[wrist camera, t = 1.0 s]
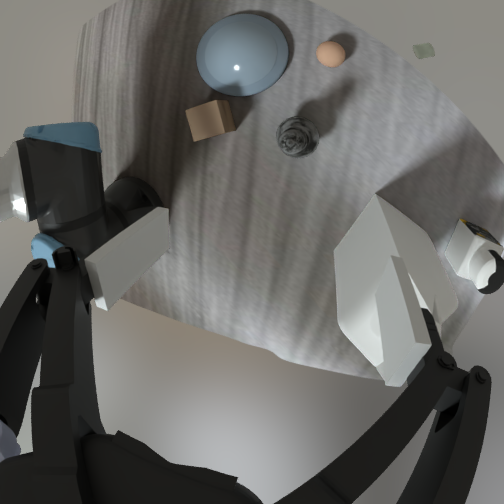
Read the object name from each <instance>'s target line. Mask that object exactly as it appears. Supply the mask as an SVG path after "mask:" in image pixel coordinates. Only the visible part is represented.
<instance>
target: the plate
mask: <svg viewBox="0 0 504 504" xmlns="http://www.w3.org/2000/svg"><path fill="white" fill-rule="evenodd" d="M288 58H289V48H288V44H287V41H286V38H285V36H284V35H283V33H282V32H281V30H280V29H279V28H278V27H277V26H276V25H275V24H274V23H273V22H271V21H270V20H268V19H266V18H264V17H262V16H258V15H254V14H237V15H232V16H229V17H226V18H224V19H221V20H220V21H218V22H216V23H215V24H214V25H212V26H211V27H210V28H209V29H208V30H207V31H206V33H205V34H204V35H203V37H202V39H201V41H200V43H199V45H198V49H197V55H196V61H197V67H198V70H199V73H200V75H201V76H202V78H203V79H204V81H205V82H206V83H207V84H208V85H209V86H210V87H212V88H213V89H215V90H216V91H218V92H221V93H223V94H227V95H232V96H250V95H254V94H257V93H260V92H262V91H264V90H266V89H268V88H269V87H271V86H272V85H273V84H275V83H276V82H277V81H278V79H279V78H280V77H281V76H282V74H283V73H284V71H285V69H286V66H287V63H288Z"/></svg>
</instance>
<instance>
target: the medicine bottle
mask: <svg viewBox="0 0 504 504" xmlns="http://www.w3.org/2000/svg"><path fill="white" fill-rule="evenodd" d="M503 250H504V248H503V247H502V246H501V245H500V243H499V242H498V241H497V240H496V239H495V238H494V237H493V236H492V235H491V234H490V233H489V232H488V231H487V230H485V229H483V228H481V227H479V226H477V225H474V224H472V223H470V222H468V221H465V220H463V219H459V221H458V223H457V225H456V228H455V230H454V233H453V235H452V237H451V240H450V242H449V244H448V246H447V248H446V251H445V253H444V254H445V256H446V258H447V259H448V261H449V263H450V264H451V266H452V267H453V269H454V271H455V273H456V274H457V275H458V276H460V277H463V278H466V279H469V280H472V281H473V282H474V284H475V286H476V287H477V289H478V291H479V292H481V293H483V294H491V293H493V292H495V291H496V290H498V289H499V288H500V287H501V286H502V284H503V283H504V260H503V259H502V257H501V254H502V252H503Z"/></svg>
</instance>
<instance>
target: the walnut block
mask: <svg viewBox="0 0 504 504" xmlns="http://www.w3.org/2000/svg"><path fill="white" fill-rule="evenodd" d="M185 111H186V115H187V119H188V122H189V126H190V129H191V133H192V136H193V140H194V142H195V141H199V140H202V139H206V138H210V137H213V136H217V135H220V134H224V133H227V132H231V131H235V130H236V127H235V124H234V120H233V116H232V112H231V109H230V105H229V101H228V100H214V101H211V102H208V103H205V104H202V105H199V106H196V107H193V108H191V109H188V110H185Z"/></svg>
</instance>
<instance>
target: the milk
mask: <svg viewBox="0 0 504 504" xmlns="http://www.w3.org/2000/svg"><path fill="white" fill-rule="evenodd" d="M390 255H392V256H397V257H401V258H403V261H404V263H405V266H406V268H407V271H408V274H409V276H410V279H411V282H412V284H413V287H414V290H415V293H416V295H417V298H418V301H419V304H420V307H421V308H426V309H428V310H429V312H430V313H431V314H432V315H433V317H434V320H435V323H436V324H435V325H436V326H437V329H438V331H437V332H439V336H440V339H441V324H442V323H443V322H444V321H445V320H446V319H447V318H448V317H449V316H450V315H451V314H452V313H453V312H454V311H455V310H456V309H457V307H458V299H457V296H456V294H455V291H454V289H453V287H452V284H451V282H450V279H449V277H448V275H447V273H446V270H445V268H444V266H443V264H442V262H441V260H440V257H439V255H438V253H437V251H436V249H435V247H434V245H433V243H432V241H431V239H430V237H429V235H428V234H427V232H426V231H424V230H423V229H422V228H421V227H419V226H418V225H417V224H416V223H414V222H413V221H412V220H411V219H409V218H408V217H407V216H405V215H404V214H403V213H402V212H400V211H399V210H398V209H396V208H395V207H394V206H392V205H391V204H389V203H388V202H387V201H385V200H384V199H383V198H381V197H380V196H378V195H377V194H374V196H373V197H372V198H371V200H370V201H369V203H368V204H367V206H366V207H365V208H364V210H363V211H362V213H361V214H360V215H359V217H358V218H357V220H356V221H355V222H354V224H353V225H352V227H351V228H350V229H349V231H348V232H347V233H346V235H345V236H344V237H343V239H342V240H341V242H340V243H339V244H338V246H337V247H336V248H335V250H334V263H335V277H336V294H337V318H338V324H339V326H340V328H341V330H342V331H343V333H344V334H345V335H346V336H347V337H348V339H349V340H350V341H351V342H352V343H353V344H354V345H355V346H356V347H357V348H358V349H359V350H360V351H361V353H362V354H363V355H364V356H365V357H366V358H367V359H368V360H369V361H370V362H371V363H372V364H373V365H374V366H376V369H377V371H378V372H379V373H380V375H381V376H382V378H383V379H384V381H385V372H384V360H383V350H382V341H381V333H380V325H379V318H378V311H377V305H376V298H375V293H376V291H377V288H378V286H379V283H380V281H381V278H382V276H383V273H384V271H385V268H386V265H387V263H388V260H389V257H390Z"/></svg>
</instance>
